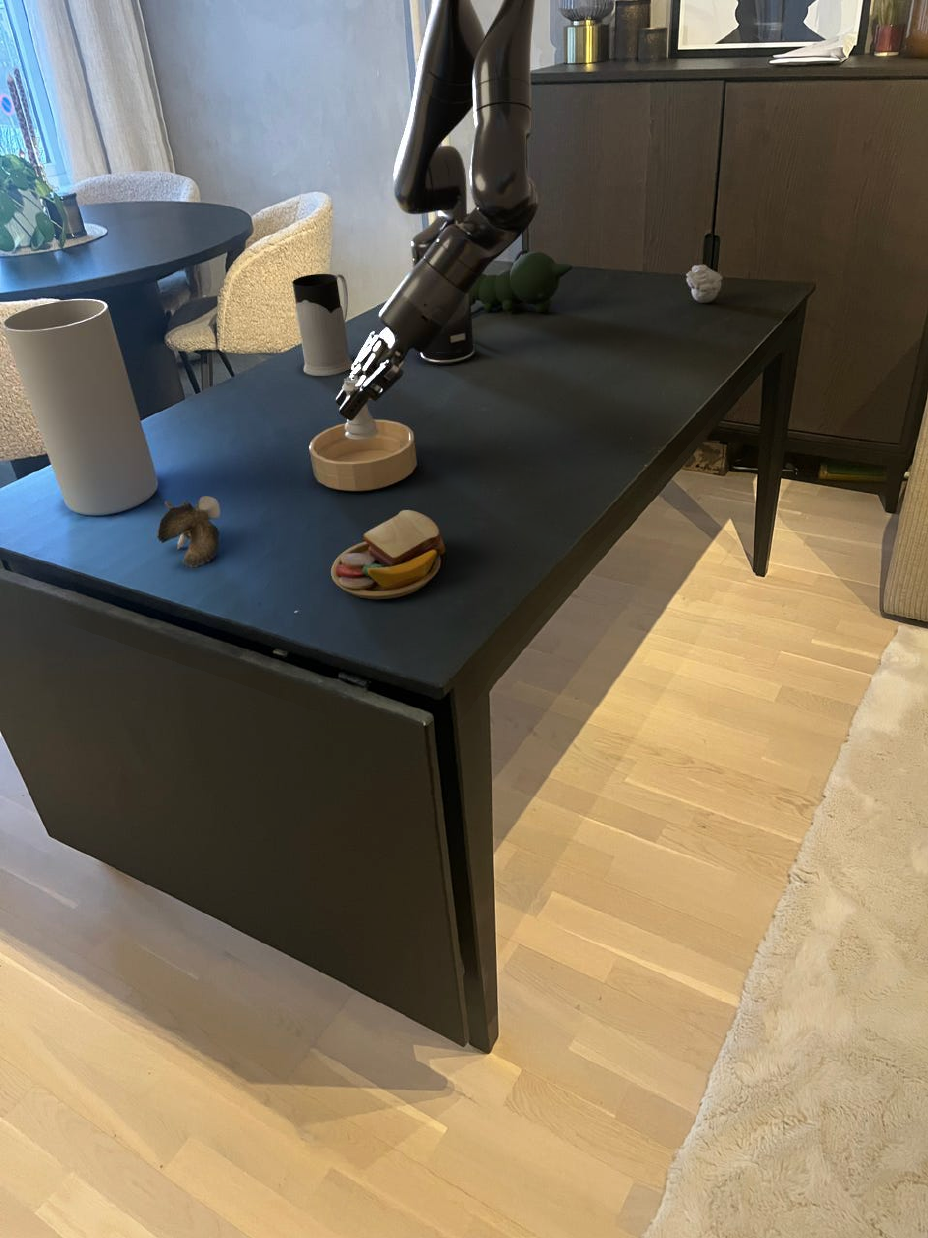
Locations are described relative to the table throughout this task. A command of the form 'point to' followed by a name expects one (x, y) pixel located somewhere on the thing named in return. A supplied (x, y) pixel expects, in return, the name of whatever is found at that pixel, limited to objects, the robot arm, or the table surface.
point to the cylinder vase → (83, 404)
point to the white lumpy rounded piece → (704, 283)
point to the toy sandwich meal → (391, 558)
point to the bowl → (363, 457)
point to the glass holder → (322, 323)
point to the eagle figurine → (193, 529)
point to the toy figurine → (521, 284)
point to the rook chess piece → (359, 418)
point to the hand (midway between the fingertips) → (343, 410)
